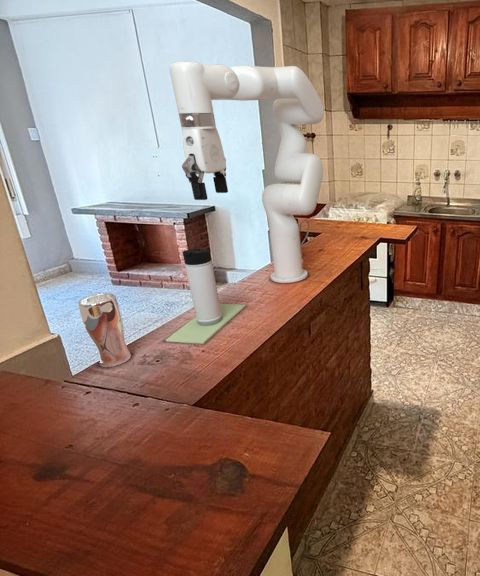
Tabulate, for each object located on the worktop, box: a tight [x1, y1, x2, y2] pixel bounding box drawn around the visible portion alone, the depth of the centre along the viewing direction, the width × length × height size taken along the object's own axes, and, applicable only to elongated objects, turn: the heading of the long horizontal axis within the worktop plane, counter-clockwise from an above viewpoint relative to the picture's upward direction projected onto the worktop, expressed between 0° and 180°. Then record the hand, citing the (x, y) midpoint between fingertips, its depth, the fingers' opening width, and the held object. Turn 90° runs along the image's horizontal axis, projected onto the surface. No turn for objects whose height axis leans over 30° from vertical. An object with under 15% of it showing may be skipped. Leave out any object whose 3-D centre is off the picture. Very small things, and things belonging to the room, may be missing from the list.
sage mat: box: [165, 303, 247, 345], centre depth 106 cm, size 22×10×1 cm, turn 172°
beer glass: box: [77, 292, 132, 368], centre depth 87 cm, size 7×7×15 cm
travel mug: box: [182, 248, 222, 326], centre depth 102 cm, size 6×7×20 cm
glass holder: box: [294, 217, 310, 258], centre depth 160 cm, size 9×14×15 cm, turn 139°
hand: (212, 196), depth 100 cm, fingers open, 9 cm apart
